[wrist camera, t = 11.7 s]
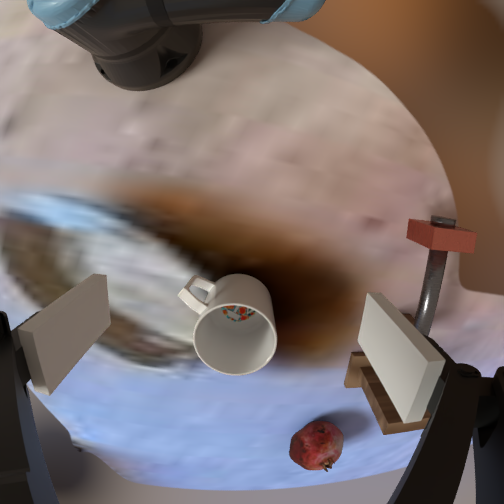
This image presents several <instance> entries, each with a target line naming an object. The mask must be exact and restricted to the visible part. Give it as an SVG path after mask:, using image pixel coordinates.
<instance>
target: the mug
mask: <svg viewBox="0 0 504 504" xmlns="http://www.w3.org/2000/svg"><path fill="white" fill-rule="evenodd" d="M191 285H194V286H196V287H199V288H201V289H204V290H206V291H208V293H207V296H206V298H205V301H204V302H202V301H200V300H199V299H198V298H196V297H195V296H194V295H193V294H192V293H191V292H190V290H189V287H190V286H191ZM177 296H178V297H180V298H181V299H182V300H183V301H184V302H185V303H186V304H187V305H188V306H189V307H190V308H191V309H193V310H194V311H196V312H197V313H198V314H199V317H198V320H197V322H196V325H195V328H194V332H193V343H194V347H195V350H196V352H197V354H198V356H199V357H200V359H201V360H202V361H203V362H204V363H205V364H206V365H207V366H209V367H210V368H212V369H213V370H215V371H218V372H220V373H223V374H227V375H246V374H250V373H253V372H255V371H257V370H259V369H261V368H262V367H264V366H265V365H266V364H267V363H268V362H269V361H270V360H271V358H272V357H273V355H274V353H275V350H276V346H277V333H276V326H275V319H274V312H273V305H272V299H271V296H270V293H269V291H268V290H267V288H266V287H265V286H264V284H263V283H261V282H260V281H259V280H258V279H256V278H254V277H252V276H249V275H245V274H231V275H227V276H225V277H222V278H221V279H219V280H218V281H216V282H211V281H209V280H207V279H204V278H202V277H200V276H197V275H194V276H193V277H192V278H191V279H190V280H189V282H188V283H187V284H186V285H185V287H184V288H183V289H182V290H181V292H180V293H179V294H178V295H177Z"/></svg>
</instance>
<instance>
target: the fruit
mask: <svg viewBox="0 0 504 504" xmlns="http://www.w3.org/2000/svg"><path fill="white" fill-rule="evenodd" d="M342 448H343V434H342V432H341V431H340V430H339V429H338V428H337V427H336V426H335V425H334V424H332V423H330V422H327V421H313V422H310V423H308V424H307V425H306V426H305V427H304V428H302V429H301V430H299V431H298V432H296V433H295V434H294V435H293V437H292V439H291V443H290V451H289V455H290V458H291V459H292V460H293V461H294V462H295V463H297V464H298V465H300V466H301V467H303V468H305V469H307V470H322V469H324V470H325V471H326V472H328V470H327V468H330V469H332V464H333V463H334V464H335V462H336V461H337V460H338V459H339V457H340V455H341V452H342Z"/></svg>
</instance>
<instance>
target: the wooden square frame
mask: <svg viewBox="0 0 504 504" xmlns="http://www.w3.org/2000/svg"><path fill="white" fill-rule="evenodd" d="M344 385H345V388H357V387H362V389H363V391H364V393H365V395H366V397H367V400H368V402H369V404H370V406H371V408H372V411H373V413H374V415H375V417H376V419H377V421H378V424H379V426H380V428H381V430H382V433H383V435H387V434H395V433H401V432H408V431H414V430H419V429H424V428H425V426H426V424H427V422H428V420H429V418H430V416H431V414H430V413H429V411H428V410H427V409H426V411H425V413H424V416H423V418H422V420H421V421H417V422H411V423H403V421H402V419H401V417H400V415H399V413H398V411H397V410H396V408H395V406H394V404H393V402H392V401H391V399H390V397H389V395H388V393H387V392H386V390H385V388H384V386H383V384H382V383H381V381H380V379H379V377H378V376H377V374H376V372H375V370H374V369H373V367H372V365H371V363H370V362H369V360H368V358H367V356H366V355H365V353H364V352H351V357H350V361H349V365H348V369H347V373H346V377H345V381H344Z"/></svg>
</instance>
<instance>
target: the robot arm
mask: <svg viewBox="0 0 504 504" xmlns="http://www.w3.org/2000/svg"><path fill="white" fill-rule="evenodd" d="M324 2H325V0H27V4H28V7H29V9H30V11H31V12H32V14H34V15H35V16H36V17H37V18H39V19H40V20H41V21H43V23H44V24H45V26H46V27H47V28H49V29H52V30H54V31H56V32H58V33H59V34H61V35H63V36H64V37H66V38H68V39H69V40H71V41H73V42H74V43H76V44H77V45H79V46H81V47H82V48H84V49H85V50H87V51H89V52H90V53H91V55H92V57H93V60H94V62H95V65H96V67H97V69H98V71H99V72H100V74H101V75H102V76H103V77H104V78H105V79H106V80H108V81H109V82H111V83H112V84H114V85H116V86H118V87H120V88H122V89H126V90H131V91H144V90H150V89H154V88H157V87H160V86H162V85H165V84H167V83H169V82H170V81H172V80H174V79H175V78H177V77H178V76H179V75H180V74H182V73H183V72H184V71H185V70H186V69H187V68H188V67H189V65H190V64H191V63H192V62H193V60H194V59H195V57H196V55H197V53H198V51H199V48H200V46H201V41H202V26H201V24H204V23H221V22H260V23H261V24H267V23H270V22H300V21H304V20H307V19H308V18H310V17H312V16H313V15H315V14H316V13H317V12H318V11H319V9H320V8H321V7H322V5H323V4H324ZM110 324H111V321H110V311H109V301H108V290H107V276H106V275H101V274H93V275H91V276H90V277H88V278H87V279H85V280H84V281H82V282H81V283H79V284H78V285H77V286H75V287H74V288H72V289H71V290H69V291H68V292H67V293H65V294H64V295H62V296H61V297H60V298H58V299H57V300H55V301H54V302H53V303H51V304H50V305H48V306H47V307H46V308H44V309H43V310H41V311H39V312H36V313H35V314H33V315H32V316H31V317H29V319H27V320H25V321H24V322H22V323H21V324H20V325H18V326H17V327H16V328H15V329H13V330H12V331H11V330H10V326H9V322H8V317H7V314H6V313H5V312H3V311H0V504H59V501H58V499H57V496H56V493H55V490H54V488H53V485H52V482H51V479H50V476H49V473H48V470H47V467H46V463H45V460H44V457H43V453H42V450H41V446H40V442H39V438H38V434H37V430H36V426H35V422H34V417H33V413H32V407H31V402H30V397H29V391H28V388H27V386H26V383H27V382H28V381H29V380H30V379H31V380H32V383H33V387H34V389H35V391H37V392H40V393H43V394H46V395H49V396H50V395H51V394H52V393H53V391H54V390H55V389H56V388H57V386H58V385H59V384H60V383H61V382H62V380H63V379H64V378H65V377H66V376H67V374H68V373H69V372H70V371H71V370H72V368H73V367H74V366H75V365H76V364H77V362H78V361H79V360H80V359H81V358H82V357H83V355H84V354H85V353H86V352H87V351H88V350H89V348H90V347H91V346H92V345H93V344H94V343H95V341H96V340H97V339H98V338H99V337H100V336H101V335H102V333H103V332H104V331H105V330H106V329H107V328H108V327H109V325H110ZM358 343H359V344H360V346H361V348H362V349H363V351H364V353H365V355H366V356H367V358H368V360H369V362H370V363H371V365H372V367H373V369H374V370H375V372H376V374H377V376H378V377H379V379H380V381H381V383H382V384H383V386H384V388H385V390H386V392H387V393H388V395H389V397H390V399H391V401H392V402H393V404H394V406H395V408H396V410H397V411H398V413H399V415H400V417H401V419H402V421H403V423H411V422H417V421H421V420H422V418H423V416H424V413H425V411H426V409H427V410H428V411H429V413H430V414H431V416H430V418H429V420H428V422H427V424H426V426H425V428H424V430H423V432H422V434H421V439H420V441H419V443H418V445H417V448H416V450H415V452H414V454H413V456H412V458H411V460H410V462H409V464H408V466H407V468H406V470H405V472H404V474H403V476H402V478H401V480H400V482H399V483H398V485H397V487H396V489H395V491H394V493H393V495H392V496H391V498H390V500H389V501H388V503H387V504H453V502H454V499H455V496H456V493H457V490H458V487H459V484H460V481H461V477H462V474H463V470H464V467H465V463H466V459H467V455H468V451H469V447H470V443H471V438H472V439H473V449H474V460H475V461H474V462H475V478H476V479H475V480H476V504H504V366H502V367H499V368H498V369H497V371H496V373H495V375H494V378H490V377H481V373H480V372H479V370H478V369H476V368H475V367H473V366H471V365H468V364H463V363H458V364H456V363H455V362H454V361H453V360H452V359H451V357H450V356H449V355H448V354H447V353H446V352H445V351H444V350H443V349H442V348H441V347H439V345H438V344H437V343H436V342H435V341H434V340H433V339H431V338H430V337H428V336H426V335H424V334H423V335H422V334H421V333H420V332H419V331H418V330H417V329H416V328H415V327H414V326H413V325H412V324H411V323H410V322H409V321H408V320H407V319H406V318H405V317H404V315H403V314H402V313H401V312H400V311H399V310H398V309H397V308H396V307H395V306H394V305H393V304H392V303H391V302H390V301H389V300H388V299H387V298H386V297H385V296H384V295H383V294H382V293H371V292H367V297H366V302H365V308H364V313H363V318H362V323H361V327H360V332H359V337H358Z"/></svg>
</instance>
